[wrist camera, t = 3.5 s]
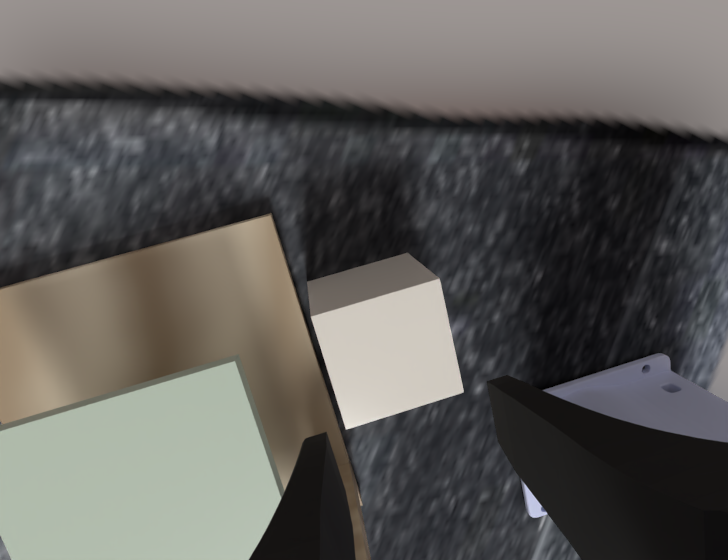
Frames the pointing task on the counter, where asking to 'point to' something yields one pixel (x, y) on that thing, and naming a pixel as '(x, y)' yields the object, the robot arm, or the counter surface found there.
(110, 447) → the trapdoor
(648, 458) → the robot arm
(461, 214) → the counter surface
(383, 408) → the cream cube
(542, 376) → the counter surface
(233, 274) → the stand
